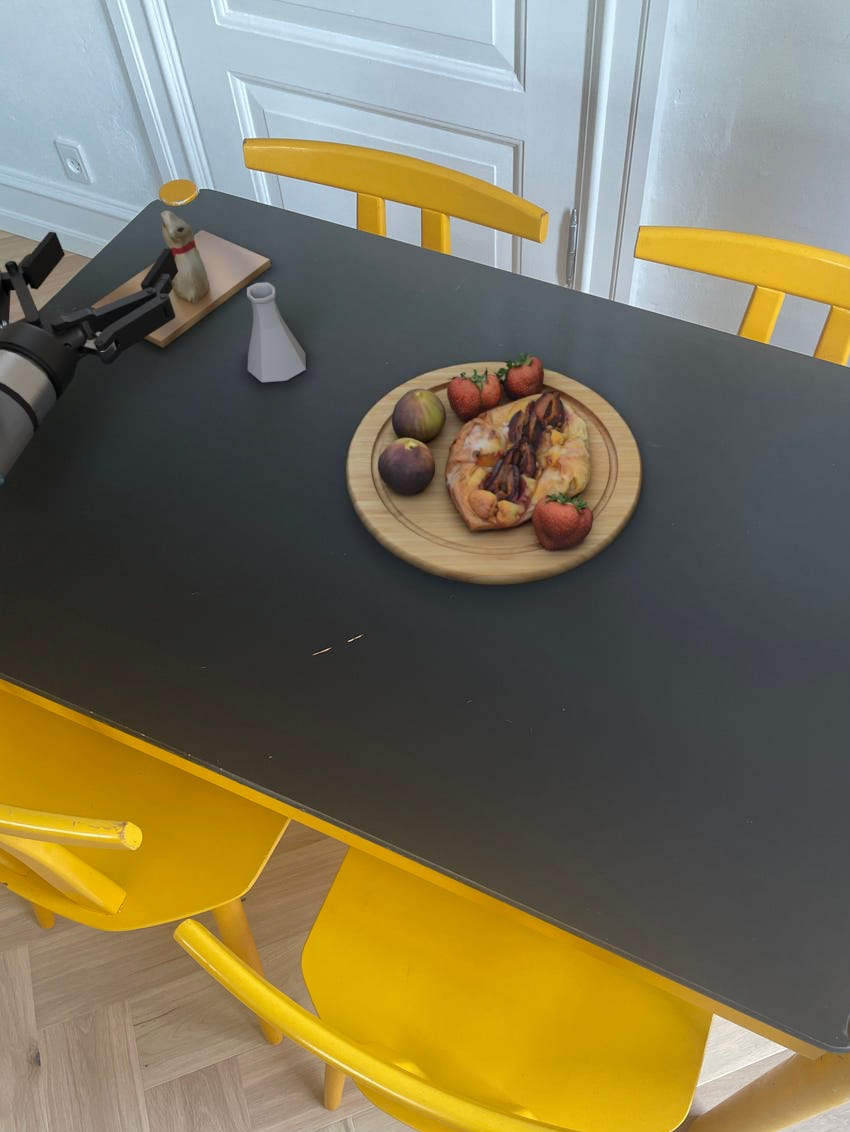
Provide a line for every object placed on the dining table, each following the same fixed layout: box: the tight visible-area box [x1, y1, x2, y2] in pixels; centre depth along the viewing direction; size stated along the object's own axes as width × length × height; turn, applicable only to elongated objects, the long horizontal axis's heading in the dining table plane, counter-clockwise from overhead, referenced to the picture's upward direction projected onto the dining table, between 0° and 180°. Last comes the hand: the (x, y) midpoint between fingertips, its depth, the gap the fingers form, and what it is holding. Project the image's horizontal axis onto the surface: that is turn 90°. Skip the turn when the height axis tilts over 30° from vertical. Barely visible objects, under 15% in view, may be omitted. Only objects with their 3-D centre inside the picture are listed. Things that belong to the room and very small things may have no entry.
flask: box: [246, 281, 307, 383], centre depth 102 cm, size 7×7×10 cm
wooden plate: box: [345, 351, 644, 586], centre depth 93 cm, size 32×32×8 cm
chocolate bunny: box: [160, 209, 209, 303], centre depth 109 cm, size 6×8×10 cm
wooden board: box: [90, 229, 272, 348], centre depth 114 cm, size 20×12×1 cm, turn 147°
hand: (114, 251), depth 98 cm, fingers open, 13 cm apart
